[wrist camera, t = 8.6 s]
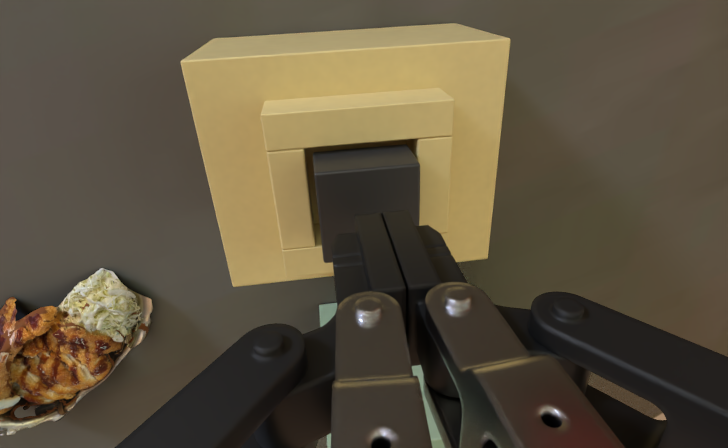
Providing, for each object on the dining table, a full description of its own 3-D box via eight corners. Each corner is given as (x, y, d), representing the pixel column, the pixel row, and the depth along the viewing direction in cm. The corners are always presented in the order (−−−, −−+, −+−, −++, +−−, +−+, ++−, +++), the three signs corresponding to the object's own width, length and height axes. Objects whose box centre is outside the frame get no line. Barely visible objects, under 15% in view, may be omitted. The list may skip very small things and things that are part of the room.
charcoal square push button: (321, 234, 16) (323, 264, 15) (312, 151, 15) (313, 173, 13) (407, 225, 17) (419, 253, 15) (407, 142, 15) (421, 163, 13)
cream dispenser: (247, 218, 24) (226, 316, 17) (212, 38, 20) (164, 70, 13) (447, 198, 25) (504, 283, 18) (455, 22, 21) (535, 45, 14)
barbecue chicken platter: (178, 310, 26) (161, 355, 23) (55, 416, 29) (25, 469, 26) (66, 237, 23) (30, 277, 20) (-60, 362, 26) (-109, 415, 23)
